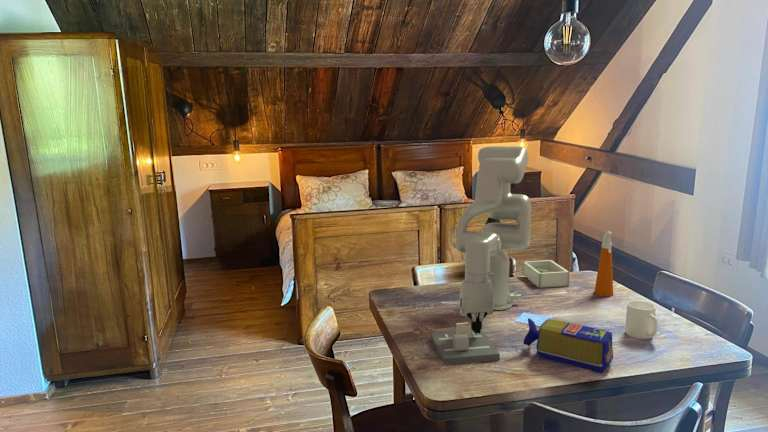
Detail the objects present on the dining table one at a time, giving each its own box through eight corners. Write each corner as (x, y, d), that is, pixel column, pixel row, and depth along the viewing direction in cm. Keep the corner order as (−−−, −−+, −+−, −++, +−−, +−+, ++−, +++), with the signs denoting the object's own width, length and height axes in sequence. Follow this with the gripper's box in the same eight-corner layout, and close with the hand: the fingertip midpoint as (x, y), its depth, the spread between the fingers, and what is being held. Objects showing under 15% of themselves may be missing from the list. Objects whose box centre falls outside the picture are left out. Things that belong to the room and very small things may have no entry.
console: (481, 335, 176) (481, 329, 176) (499, 360, 159) (499, 353, 158) (430, 338, 174) (430, 332, 174) (443, 364, 157) (443, 358, 156)
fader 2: (465, 345, 164) (466, 332, 163) (468, 349, 161) (468, 336, 160) (453, 346, 163) (453, 333, 162) (455, 350, 160) (455, 337, 159)
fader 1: (468, 334, 172) (468, 321, 171) (470, 338, 169) (471, 325, 168) (456, 335, 171) (456, 322, 170) (458, 338, 168) (458, 326, 168)
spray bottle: (597, 299, 206) (601, 232, 201) (592, 290, 216) (596, 226, 211) (616, 300, 204) (621, 233, 199) (611, 291, 215) (615, 227, 209)
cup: (641, 328, 179) (644, 299, 177) (667, 343, 167) (669, 312, 165) (619, 330, 177) (621, 301, 175) (643, 346, 166) (646, 315, 164)
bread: (605, 377, 148) (607, 342, 146) (520, 354, 162) (521, 322, 160) (615, 362, 156) (617, 329, 154) (532, 342, 170) (533, 311, 168)
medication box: (533, 277, 235) (533, 268, 234) (537, 275, 236) (537, 267, 236) (557, 283, 225) (557, 274, 225) (561, 282, 227) (561, 273, 226)
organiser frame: (550, 272, 239) (550, 259, 238) (568, 285, 222) (569, 271, 221) (522, 274, 238) (522, 261, 237) (538, 287, 220) (539, 273, 219)
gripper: (496, 271, 171) (495, 325, 175) (450, 274, 169) (450, 328, 173) (504, 278, 164) (503, 334, 167) (456, 281, 162) (456, 338, 166)
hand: (476, 331), depth 170 cm, fingers closed
